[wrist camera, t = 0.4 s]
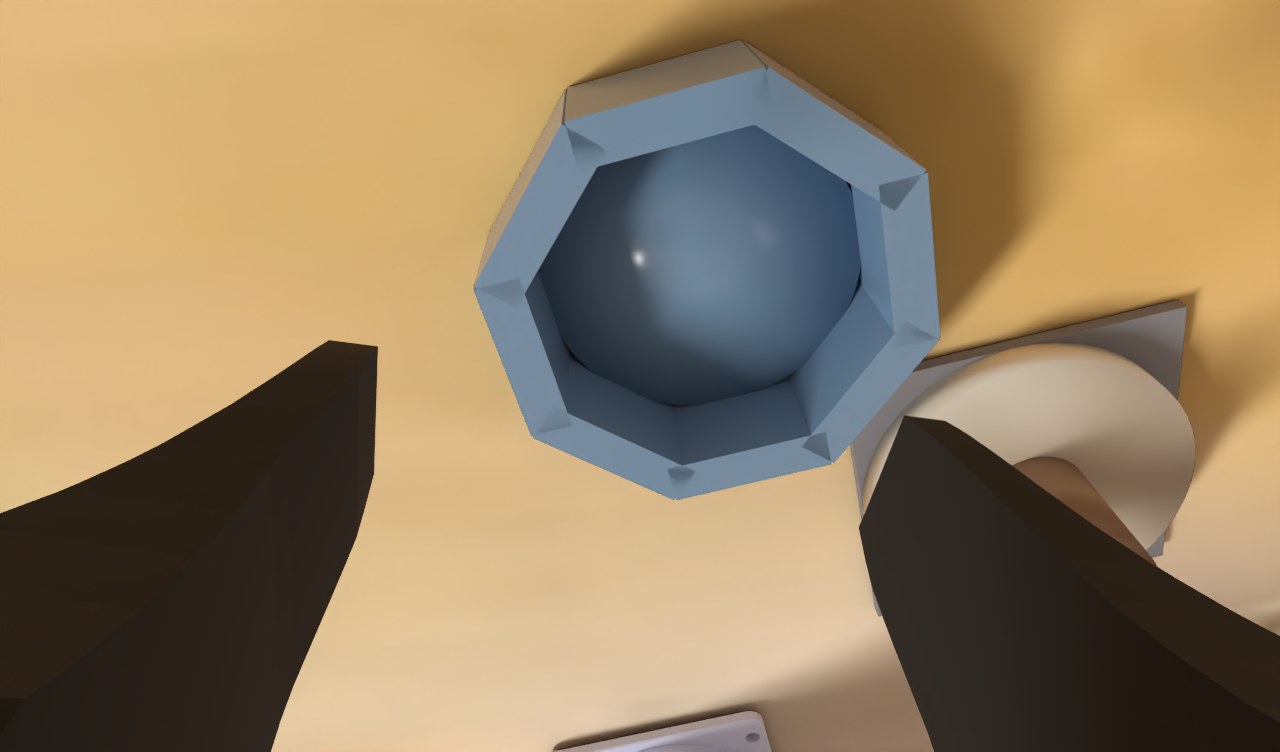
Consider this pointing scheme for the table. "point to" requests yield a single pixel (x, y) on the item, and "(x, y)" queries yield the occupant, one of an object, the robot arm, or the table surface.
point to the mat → (1132, 334)
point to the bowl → (709, 274)
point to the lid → (1071, 432)
